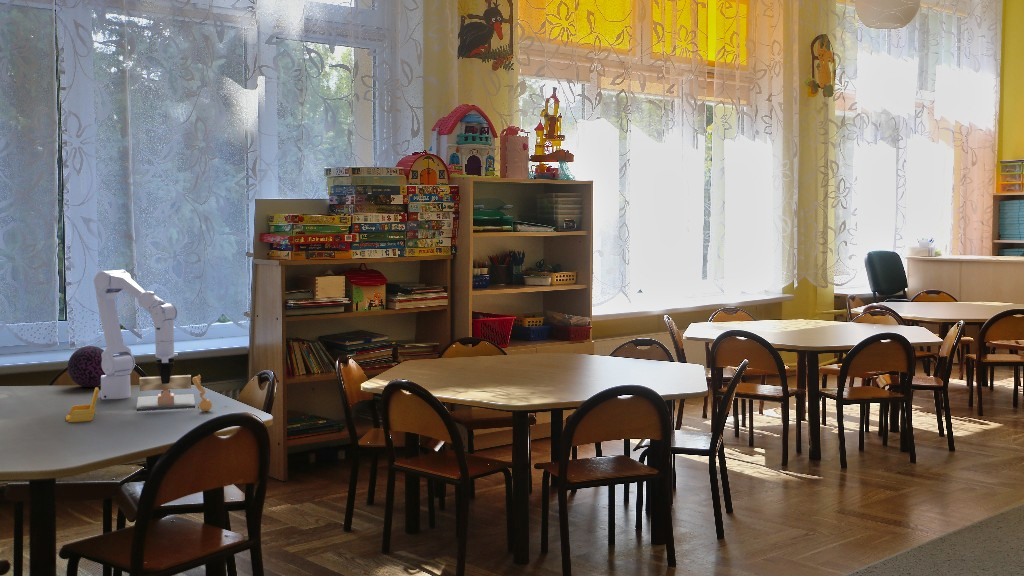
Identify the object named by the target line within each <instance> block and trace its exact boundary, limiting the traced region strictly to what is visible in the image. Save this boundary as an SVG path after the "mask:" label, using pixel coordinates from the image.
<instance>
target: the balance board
mask: <svg viewBox="0 0 1024 576" xmlns="http://www.w3.org/2000/svg"><path fill="white" fill-rule="evenodd" d="M160 391H161V392H160V393H158V394H157V395H149V396H146V395H145V396H138V397H137V401H136V406H135V407H136V412H147V411H149V412H150V411H151V410H152V411H166V410H168V411H169V410H170V411H171V410H181V409H182V410H184V409H185V410H186V409H187V408H188V409H196V401H195V394H194V393H190V394H188V393H187V394H175V393H174V392H171V389H170V390H160Z"/></svg>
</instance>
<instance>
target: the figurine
mask: <svg viewBox="0 0 1024 576" xmlns="http://www.w3.org/2000/svg"><path fill="white" fill-rule="evenodd" d="M201 378H202V376H201V375H200V374H198V375H197V376H194V377H191V383H193V384H194V386H195V388H196V389H197V390H198V391H200V393H199V397H200V398H201V399H202V400H201V401H199V404H198V407H199V410H200V411H202V412H204V413H205V412H208V411H210V410H211V409H212V408H213V404H212V401H211V400H210V399H208V398H206V397H205V398H204V395H205V394H206V390H205V389H204V387H203V386H202V385H201V382H202V381H201Z"/></svg>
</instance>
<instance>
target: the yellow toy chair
mask: <svg viewBox="0 0 1024 576" xmlns="http://www.w3.org/2000/svg"><path fill="white" fill-rule="evenodd" d="M99 391H100V389H99V387H98V386H96V387H94V391H93V394H92V399H91V402H90V404H88V403H87V404H76V405H72V406H71V409H70V411H69V412H68V414H67V415H66V416H65V422H68V423H77V422H91V421H93V418H94V416H95V413H96V409H95V408H96V404H97V400H98V396H99V393H100V392H99Z"/></svg>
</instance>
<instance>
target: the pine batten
mask: <svg viewBox="0 0 1024 576" xmlns="http://www.w3.org/2000/svg"><path fill="white" fill-rule="evenodd" d="M183 389H184V390H185V389H187V390H189V389H192V375H191V374H187V375H186V374H184V375H170V381H169V384H162V381H161V376H160V375H159V376H143V377H142V376H140V377H139V392H147V391H161V390H170V391H171V390H183Z"/></svg>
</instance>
